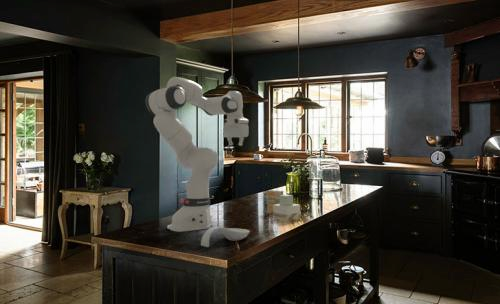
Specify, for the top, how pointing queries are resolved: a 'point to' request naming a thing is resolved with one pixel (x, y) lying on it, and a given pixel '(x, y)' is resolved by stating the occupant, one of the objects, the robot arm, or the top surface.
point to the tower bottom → (286, 216)
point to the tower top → (286, 209)
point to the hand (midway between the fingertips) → (235, 145)
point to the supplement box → (273, 199)
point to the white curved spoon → (228, 233)
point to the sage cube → (286, 200)
